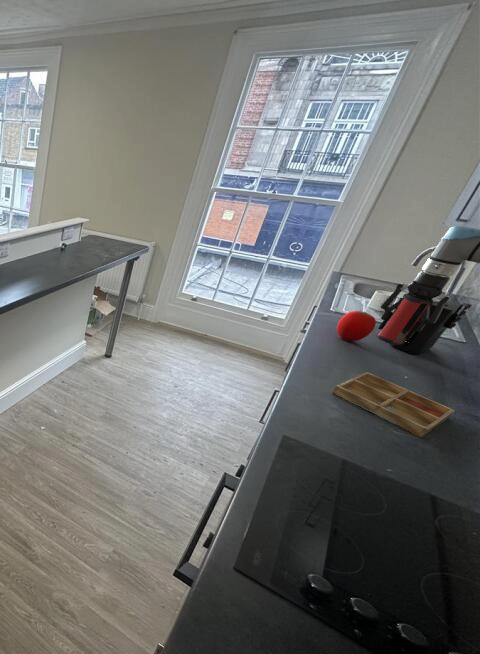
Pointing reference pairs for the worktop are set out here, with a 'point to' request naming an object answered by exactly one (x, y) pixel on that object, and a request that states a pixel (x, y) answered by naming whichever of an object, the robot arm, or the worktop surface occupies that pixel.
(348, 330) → the red egg shape
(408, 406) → the wooden divided tray
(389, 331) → the speaker
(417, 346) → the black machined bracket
